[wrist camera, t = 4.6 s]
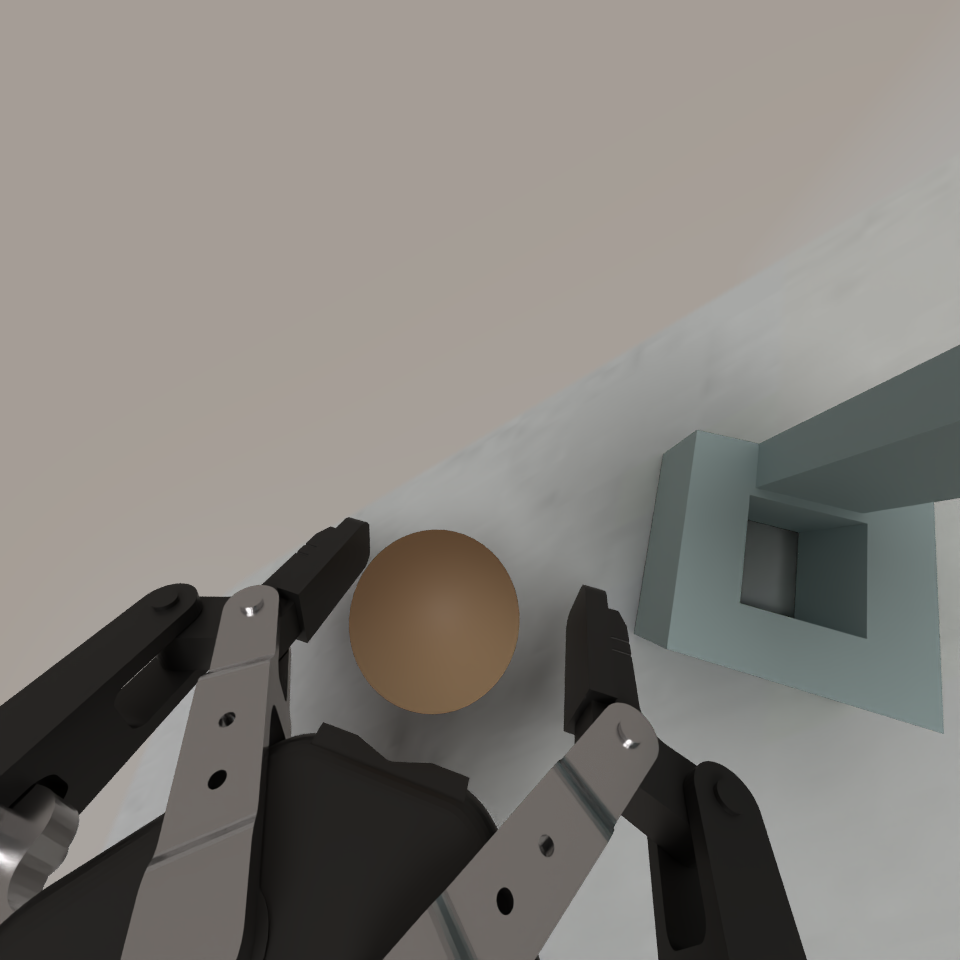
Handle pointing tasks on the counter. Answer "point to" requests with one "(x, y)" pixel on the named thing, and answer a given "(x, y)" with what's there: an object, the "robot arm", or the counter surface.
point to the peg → (434, 621)
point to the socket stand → (817, 546)
